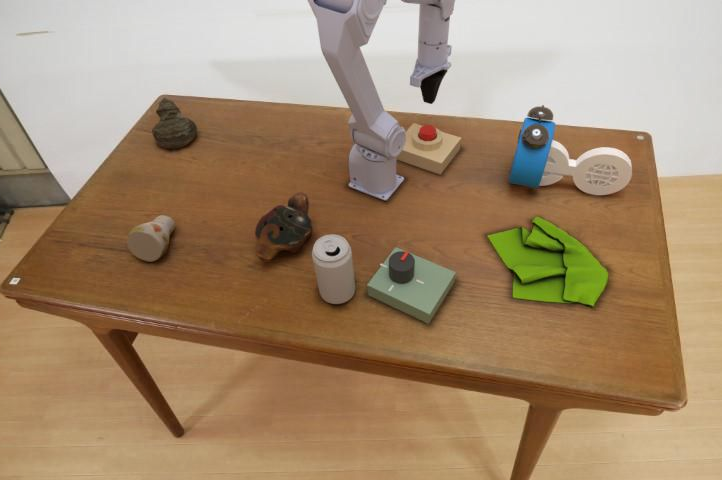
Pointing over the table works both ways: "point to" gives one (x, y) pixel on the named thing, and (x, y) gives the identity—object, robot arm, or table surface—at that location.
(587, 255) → the cloth
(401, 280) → the dial
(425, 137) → the button
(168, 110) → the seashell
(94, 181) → the table surface
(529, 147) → the alarm clock
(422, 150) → the button housing
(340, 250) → the beverage can
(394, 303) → the dial panel
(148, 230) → the beige ceramic vase
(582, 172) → the white double disc plate
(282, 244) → the decorative turtle
